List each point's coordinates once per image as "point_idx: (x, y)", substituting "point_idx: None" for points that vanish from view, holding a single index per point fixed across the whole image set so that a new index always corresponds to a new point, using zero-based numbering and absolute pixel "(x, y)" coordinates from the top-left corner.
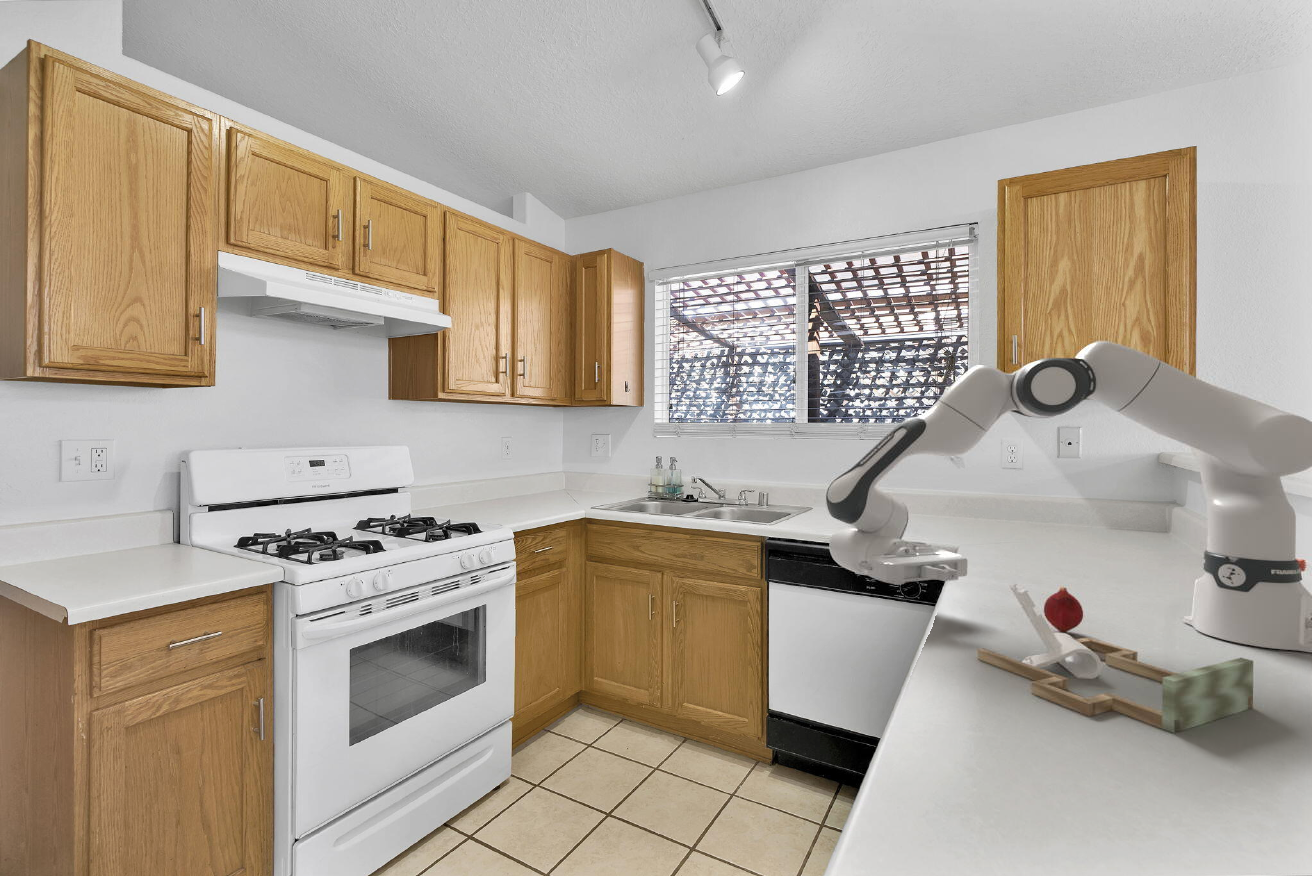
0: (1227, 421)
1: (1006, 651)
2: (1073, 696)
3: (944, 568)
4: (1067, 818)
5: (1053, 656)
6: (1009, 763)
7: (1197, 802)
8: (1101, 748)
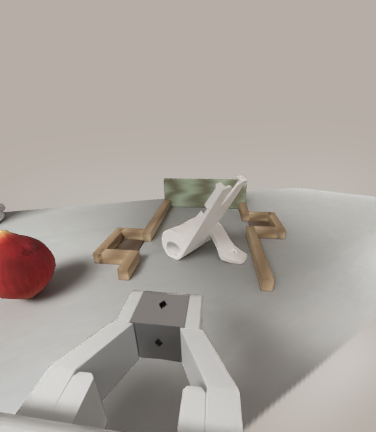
0: None
1: (203, 290)
2: (274, 217)
3: (94, 365)
4: (364, 202)
5: (222, 233)
6: (371, 216)
7: (296, 196)
8: (300, 210)
